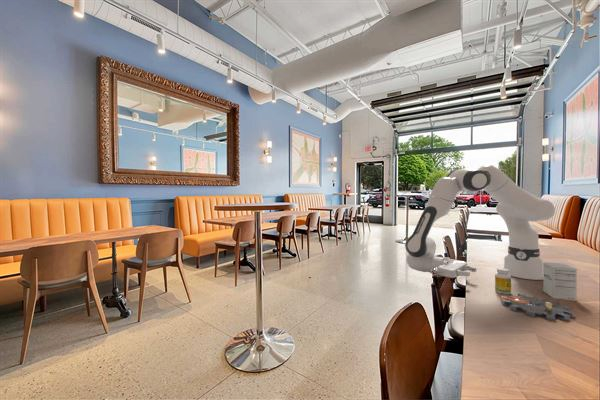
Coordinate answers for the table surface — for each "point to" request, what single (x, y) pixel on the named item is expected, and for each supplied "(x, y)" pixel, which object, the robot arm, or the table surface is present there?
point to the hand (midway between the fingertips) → (472, 272)
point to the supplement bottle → (503, 281)
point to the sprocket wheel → (537, 307)
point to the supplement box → (560, 281)
